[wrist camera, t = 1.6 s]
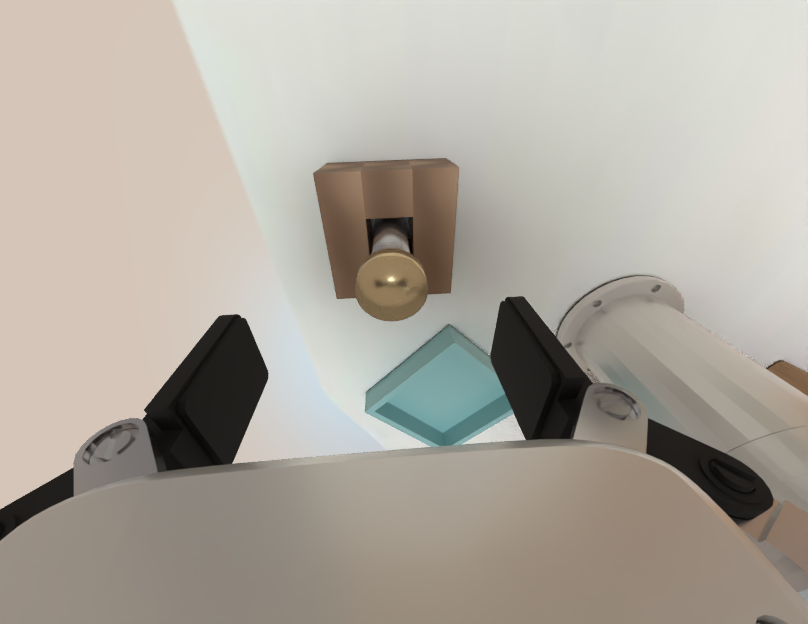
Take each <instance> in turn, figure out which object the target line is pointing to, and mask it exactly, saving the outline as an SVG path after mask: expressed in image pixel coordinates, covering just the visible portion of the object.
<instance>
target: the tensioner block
mask: <svg viewBox="0 0 808 624" xmlns="http://www.w3.org/2000/svg"><path fill="white" fill-rule="evenodd" d="M313 175H314V181H315V186H316V191H317V196H318V202H319V207H320V212H321V217H322V223H323V228H324V233H325V239H326V244H327V249H328V254H329V260H330V265H331V270H332V276H333V281H334V286H335V291H336V297H337V299H345V298H356V294H355V285H356V280H357V275H358V271H359V268H360V266H361V264H362V262H363V261H364V260H365V259H366V258H367V257H368V256H369V255H371V254H372V248H373V240H374V239H373V233H372V222H371V219H377V218H399V217H409V237H410V238H408V244H409V250H410V253H411V254H412V255H413V256H415V257H416V258H417V259H418V260H419V262H420V263H421V265H422V266H423V269H424V272H425V276H426V280H427V285H428V294H443V293H451V280H452V265H453V251H454V236H455V221H456V206H457V191H458V176H459V167H458V166H456V165H455V164H454V163H452V162H451V161H449V160H448V159H446V158H438V159H414V160H390V161H366V162H342V163H327V164H325V165H324V166H323V167H321V168H320V169H319V170H317V171H316V172H314V173H313Z"/></svg>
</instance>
